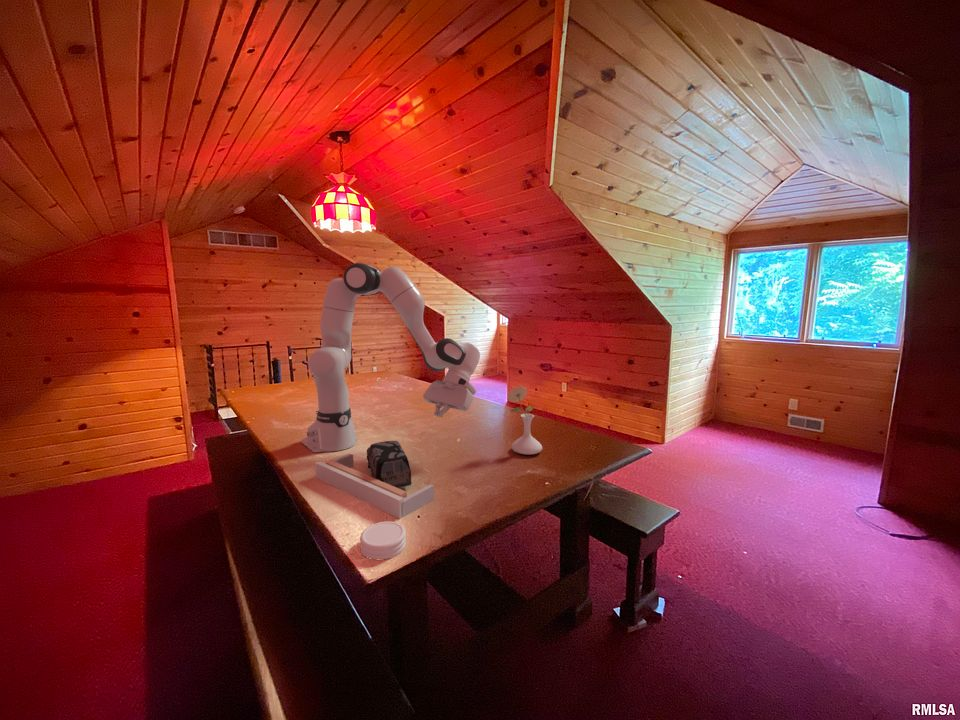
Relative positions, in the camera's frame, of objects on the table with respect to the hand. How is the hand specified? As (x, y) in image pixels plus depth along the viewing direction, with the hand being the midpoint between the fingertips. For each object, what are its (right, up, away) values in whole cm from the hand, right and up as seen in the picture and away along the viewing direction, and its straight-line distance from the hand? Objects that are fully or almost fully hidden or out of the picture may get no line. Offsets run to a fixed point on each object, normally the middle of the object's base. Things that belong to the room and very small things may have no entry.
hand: (437, 415), depth 137 cm
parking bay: (-17, -18, -22) cm, 33 cm away
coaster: (-7, -23, -49) cm, 55 cm away
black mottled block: (-14, -17, -14) cm, 26 cm away
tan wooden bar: (-19, -19, -24) cm, 36 cm away
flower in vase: (+32, -14, +6) cm, 35 cm away
